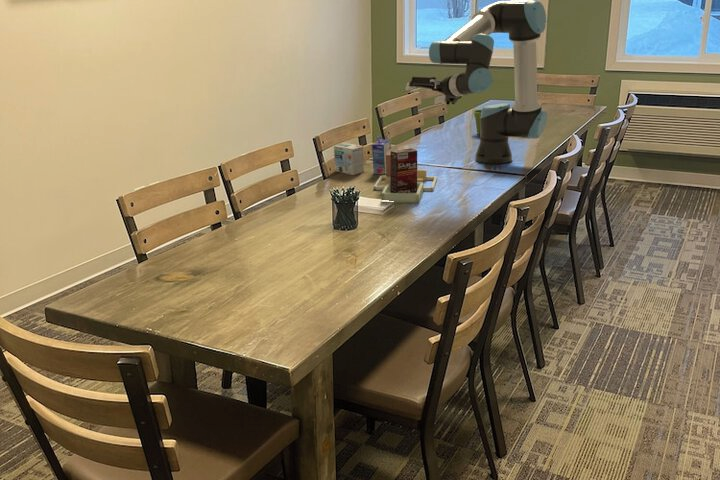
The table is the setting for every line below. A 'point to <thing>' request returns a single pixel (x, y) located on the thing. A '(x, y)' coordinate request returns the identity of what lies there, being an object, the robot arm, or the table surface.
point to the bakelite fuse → (388, 164)
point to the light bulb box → (349, 158)
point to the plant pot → (477, 119)
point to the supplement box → (404, 171)
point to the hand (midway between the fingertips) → (421, 93)
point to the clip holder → (420, 178)
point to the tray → (402, 195)
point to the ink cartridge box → (380, 155)
